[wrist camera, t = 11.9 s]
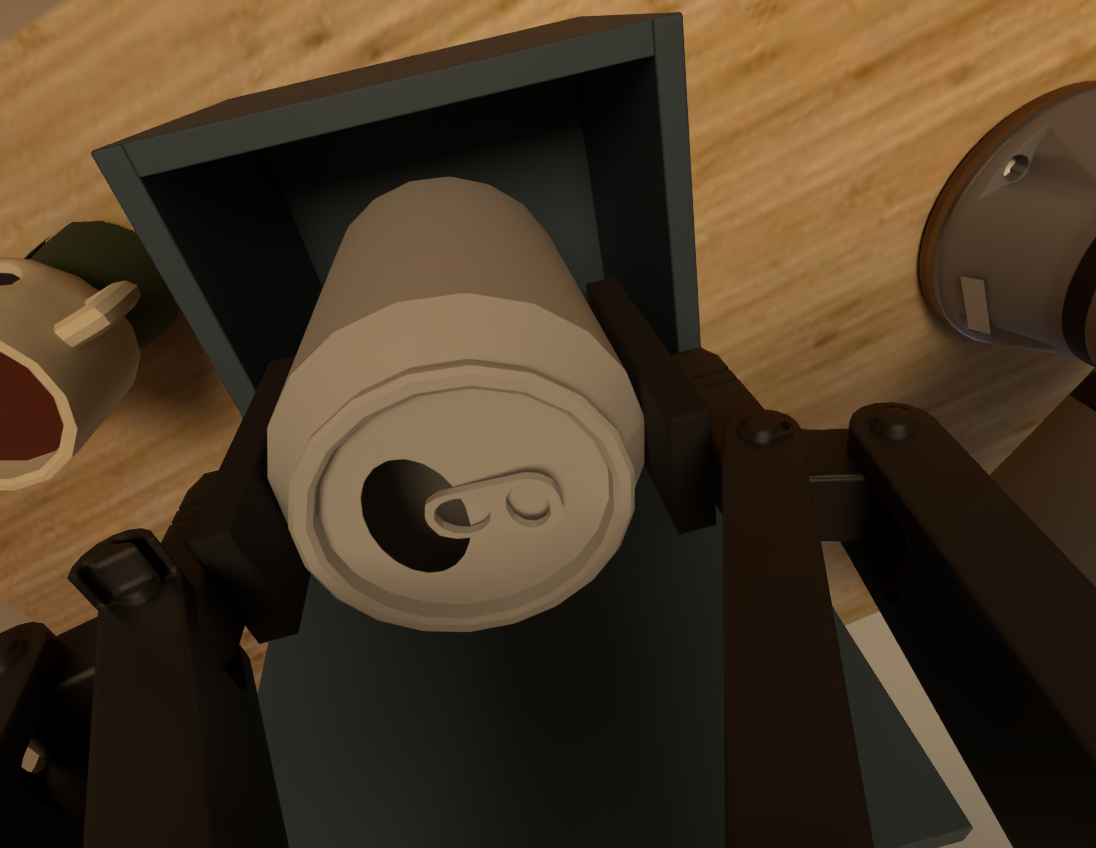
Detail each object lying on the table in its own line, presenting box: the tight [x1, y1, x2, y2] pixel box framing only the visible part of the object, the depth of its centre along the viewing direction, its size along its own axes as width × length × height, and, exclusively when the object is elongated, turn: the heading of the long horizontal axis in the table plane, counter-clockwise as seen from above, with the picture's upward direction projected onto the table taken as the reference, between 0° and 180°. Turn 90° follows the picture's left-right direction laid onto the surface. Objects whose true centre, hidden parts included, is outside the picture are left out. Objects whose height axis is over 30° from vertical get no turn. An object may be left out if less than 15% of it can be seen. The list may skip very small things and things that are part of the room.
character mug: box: [0, 221, 180, 490], centre depth 26 cm, size 11×7×13 cm, turn 117°
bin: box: [91, 12, 701, 417], centre depth 27 cm, size 14×17×14 cm
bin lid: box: [258, 464, 973, 848], centre depth 19 cm, size 15×17×1 cm
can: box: [267, 177, 644, 632], centre depth 16 cm, size 8×8×12 cm
